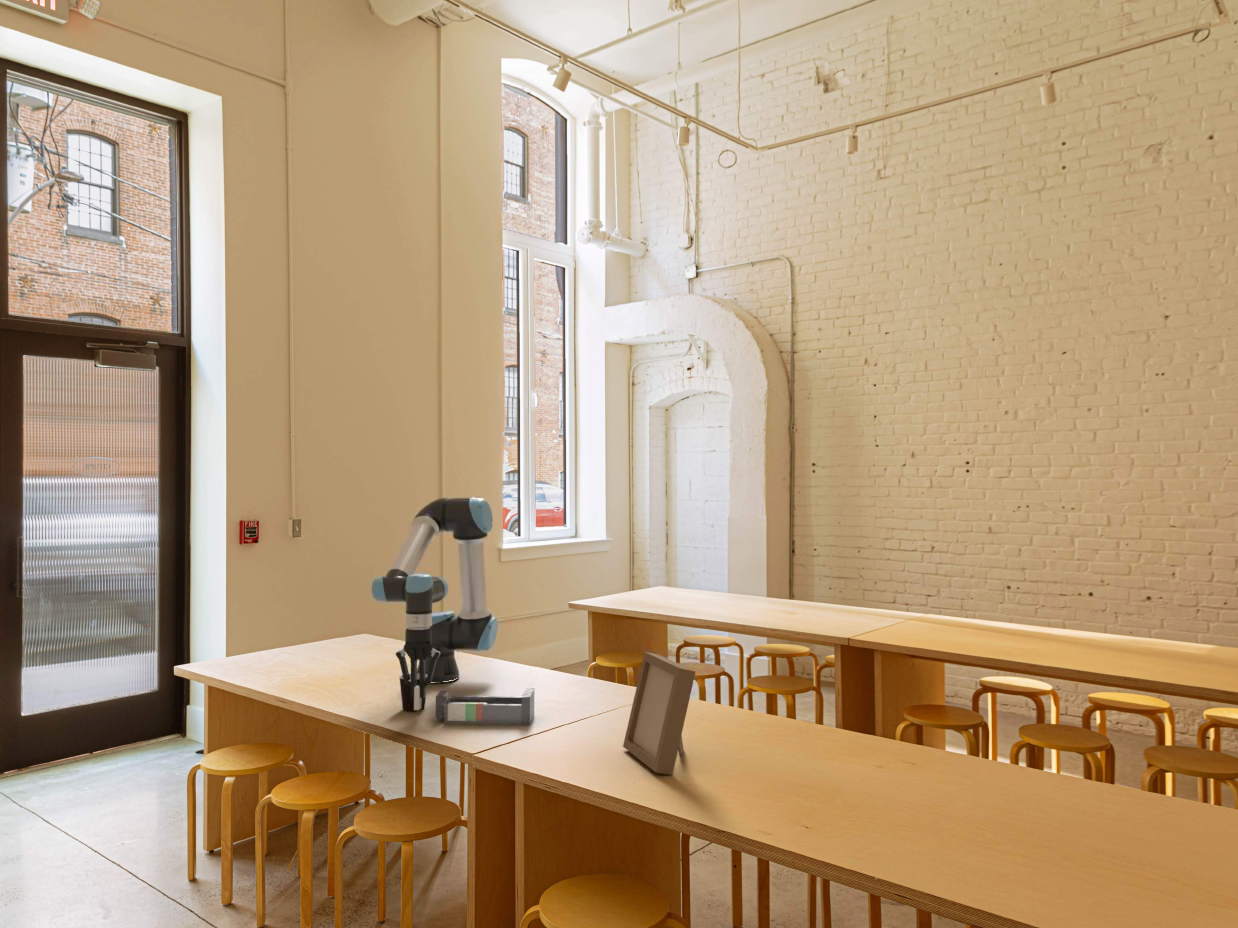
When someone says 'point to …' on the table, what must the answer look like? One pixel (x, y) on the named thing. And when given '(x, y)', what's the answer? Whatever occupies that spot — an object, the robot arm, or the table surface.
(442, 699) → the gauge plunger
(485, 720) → the gauge housing
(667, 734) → the photo frame
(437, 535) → the robot arm
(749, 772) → the table surface
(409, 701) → the coffee mug
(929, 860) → the table surface
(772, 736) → the table surface
